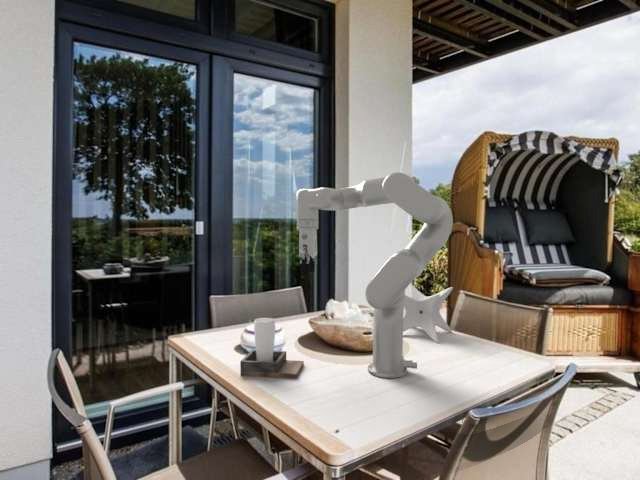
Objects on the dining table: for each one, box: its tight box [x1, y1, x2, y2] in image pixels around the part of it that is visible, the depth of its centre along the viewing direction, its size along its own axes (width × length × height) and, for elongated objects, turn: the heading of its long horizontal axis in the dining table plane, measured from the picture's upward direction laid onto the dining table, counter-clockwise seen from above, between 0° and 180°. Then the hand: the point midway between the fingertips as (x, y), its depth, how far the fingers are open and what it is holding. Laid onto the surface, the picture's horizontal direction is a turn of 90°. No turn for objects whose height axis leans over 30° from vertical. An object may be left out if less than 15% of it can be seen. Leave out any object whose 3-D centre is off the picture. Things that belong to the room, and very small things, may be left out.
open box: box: [240, 349, 305, 380], centre depth 139 cm, size 18×12×4 cm, turn 81°
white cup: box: [253, 317, 276, 362], centre depth 139 cm, size 7×7×15 cm
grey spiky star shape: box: [403, 283, 454, 344], centre depth 182 cm, size 20×20×20 cm
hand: (307, 273), depth 149 cm, fingers open, 9 cm apart
